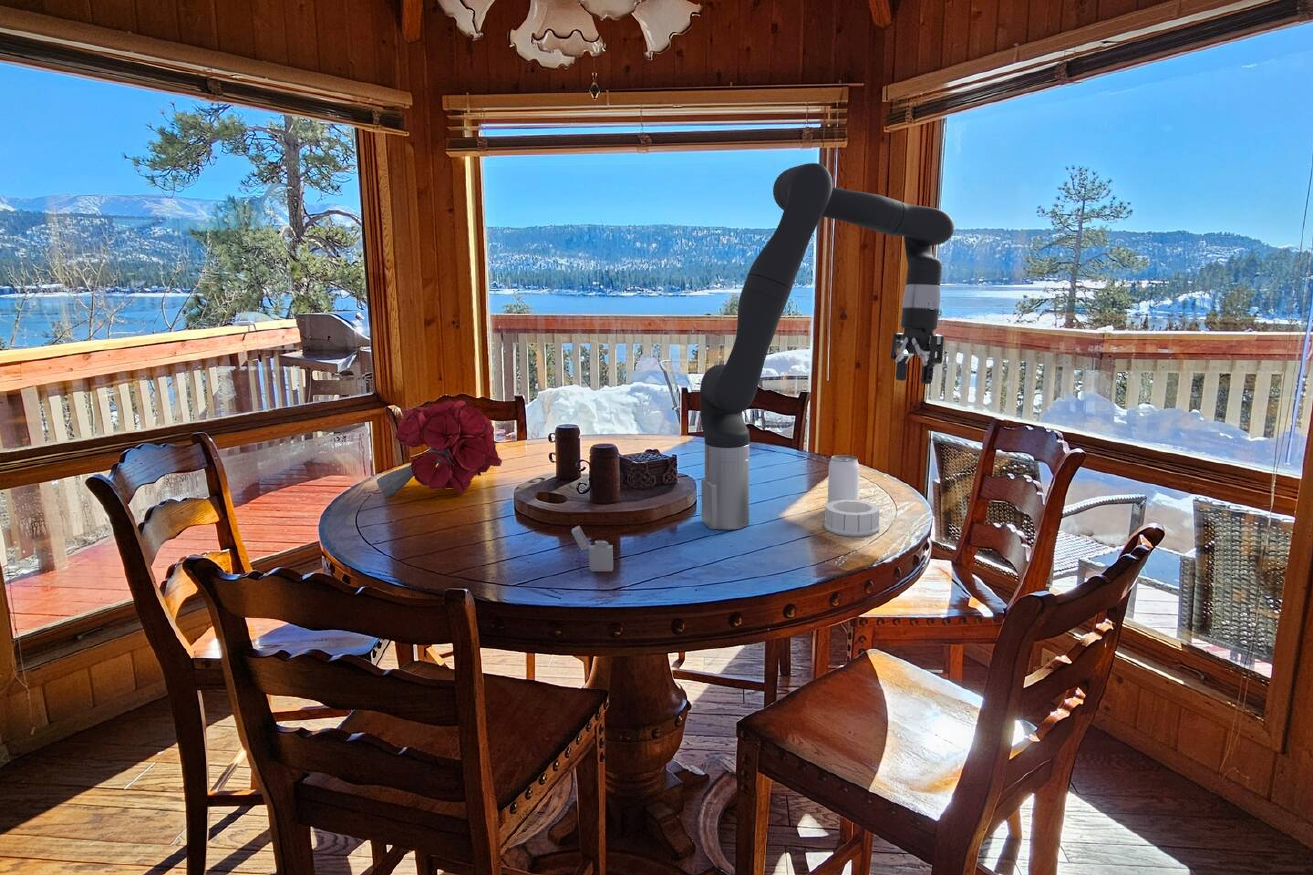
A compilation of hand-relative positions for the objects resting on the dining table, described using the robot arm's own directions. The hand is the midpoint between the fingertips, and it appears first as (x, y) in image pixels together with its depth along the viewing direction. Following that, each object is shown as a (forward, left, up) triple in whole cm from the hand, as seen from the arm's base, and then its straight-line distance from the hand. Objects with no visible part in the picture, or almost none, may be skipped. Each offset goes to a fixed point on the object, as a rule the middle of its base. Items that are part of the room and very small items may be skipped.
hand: (913, 382), depth 174 cm
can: (-17, -1, -28) cm, 32 cm away
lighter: (-76, -18, -28) cm, 82 cm away
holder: (-21, -12, -28) cm, 36 cm away
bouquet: (-101, +44, -28) cm, 113 cm away
